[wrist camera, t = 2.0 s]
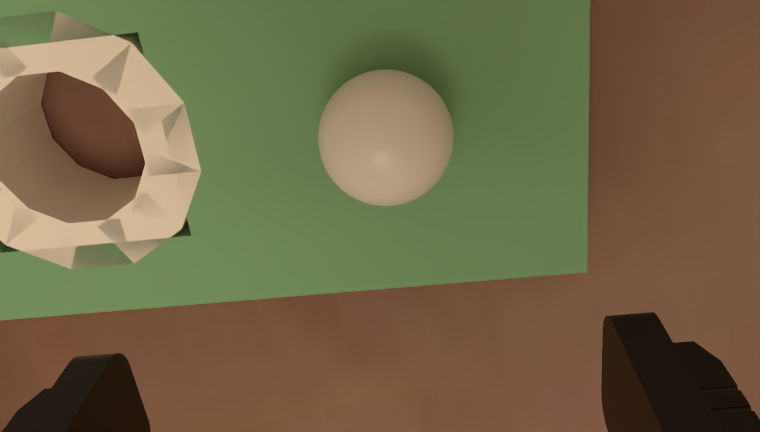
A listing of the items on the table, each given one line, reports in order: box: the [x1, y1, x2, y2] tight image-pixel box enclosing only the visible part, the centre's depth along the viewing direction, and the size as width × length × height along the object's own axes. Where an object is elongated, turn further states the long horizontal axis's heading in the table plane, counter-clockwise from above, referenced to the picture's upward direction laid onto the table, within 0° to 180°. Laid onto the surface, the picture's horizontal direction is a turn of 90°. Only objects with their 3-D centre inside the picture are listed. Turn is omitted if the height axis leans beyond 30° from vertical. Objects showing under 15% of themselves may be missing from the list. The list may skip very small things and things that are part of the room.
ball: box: [318, 69, 454, 206], centre depth 22 cm, size 4×4×4 cm
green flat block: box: [0, 0, 590, 320], centre depth 27 cm, size 26×14×4 cm, turn 97°
